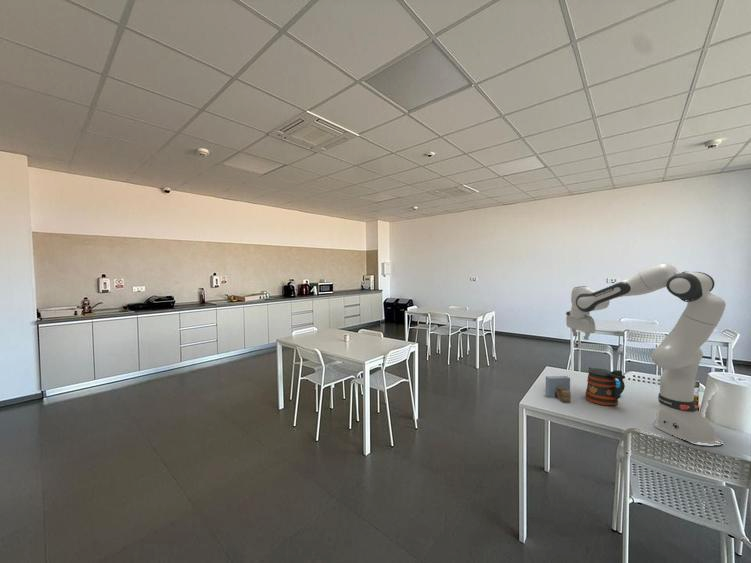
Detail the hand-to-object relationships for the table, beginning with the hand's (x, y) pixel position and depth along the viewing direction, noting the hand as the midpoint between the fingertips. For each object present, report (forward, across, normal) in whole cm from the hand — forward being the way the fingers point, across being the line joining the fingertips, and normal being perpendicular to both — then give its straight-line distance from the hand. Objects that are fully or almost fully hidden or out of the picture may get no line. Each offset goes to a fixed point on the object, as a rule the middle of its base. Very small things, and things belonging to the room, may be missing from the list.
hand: (580, 337), depth 177 cm
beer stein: (+34, -10, -7) cm, 36 cm away
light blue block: (+33, -1, +14) cm, 36 cm away
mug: (+34, -1, -19) cm, 38 cm away
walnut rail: (+33, -1, +14) cm, 36 cm away
